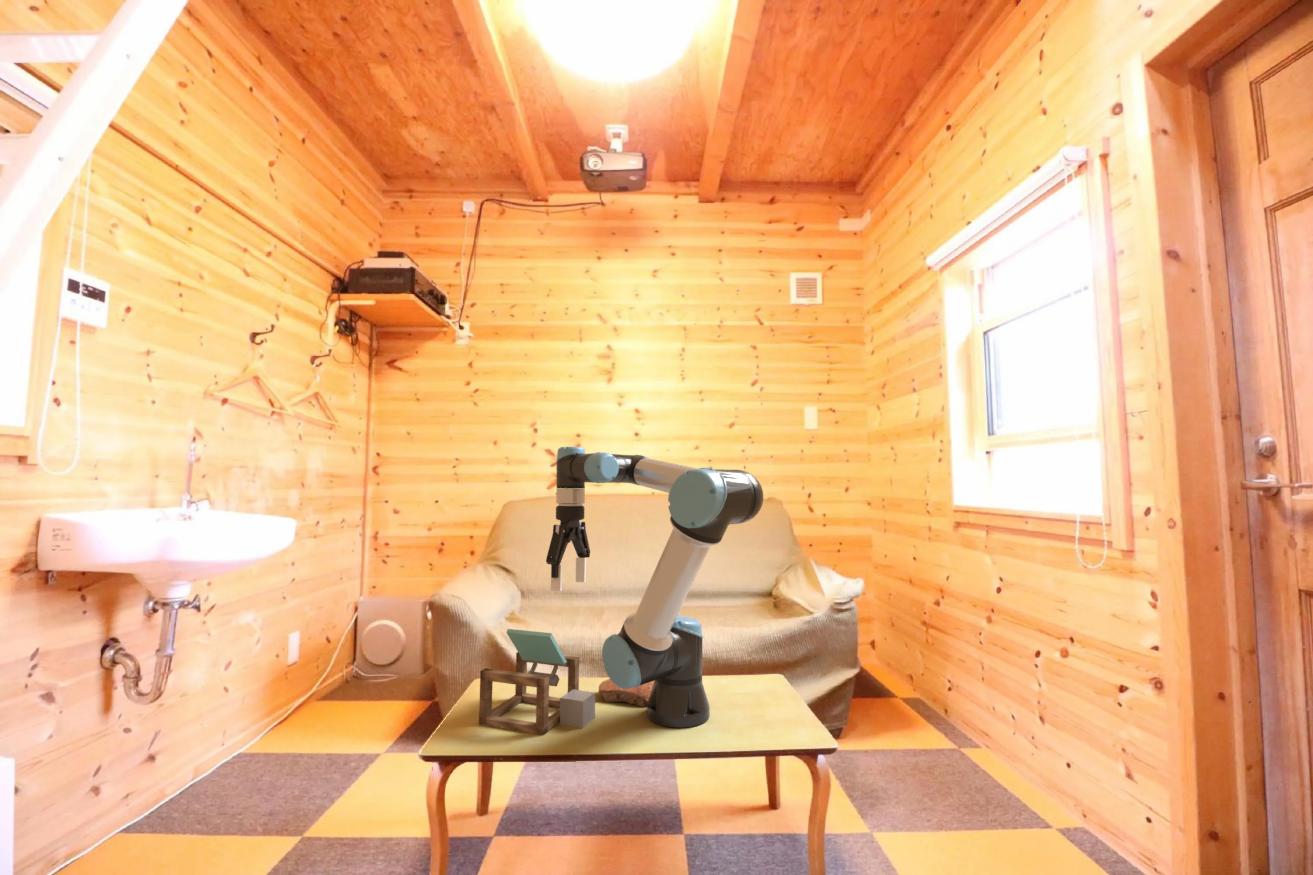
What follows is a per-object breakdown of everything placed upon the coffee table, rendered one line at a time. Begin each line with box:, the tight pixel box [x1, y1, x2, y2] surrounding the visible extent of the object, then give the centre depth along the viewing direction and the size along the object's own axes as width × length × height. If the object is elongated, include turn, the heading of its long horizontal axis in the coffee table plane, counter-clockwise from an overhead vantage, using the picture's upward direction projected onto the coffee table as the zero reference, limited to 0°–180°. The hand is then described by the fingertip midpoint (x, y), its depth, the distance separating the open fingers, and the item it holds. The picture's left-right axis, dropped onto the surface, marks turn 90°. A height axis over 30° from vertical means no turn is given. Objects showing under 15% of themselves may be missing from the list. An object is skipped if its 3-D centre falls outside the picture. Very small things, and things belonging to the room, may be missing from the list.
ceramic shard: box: [598, 678, 654, 707], centre depth 150 cm, size 15×6×15 cm
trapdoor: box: [506, 628, 567, 688], centre depth 139 cm, size 12×15×5 cm
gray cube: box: [559, 689, 596, 729], centre depth 133 cm, size 6×6×6 cm
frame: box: [478, 651, 580, 736], centre depth 137 cm, size 17×17×12 cm
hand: (568, 586), depth 149 cm, fingers open, 13 cm apart
